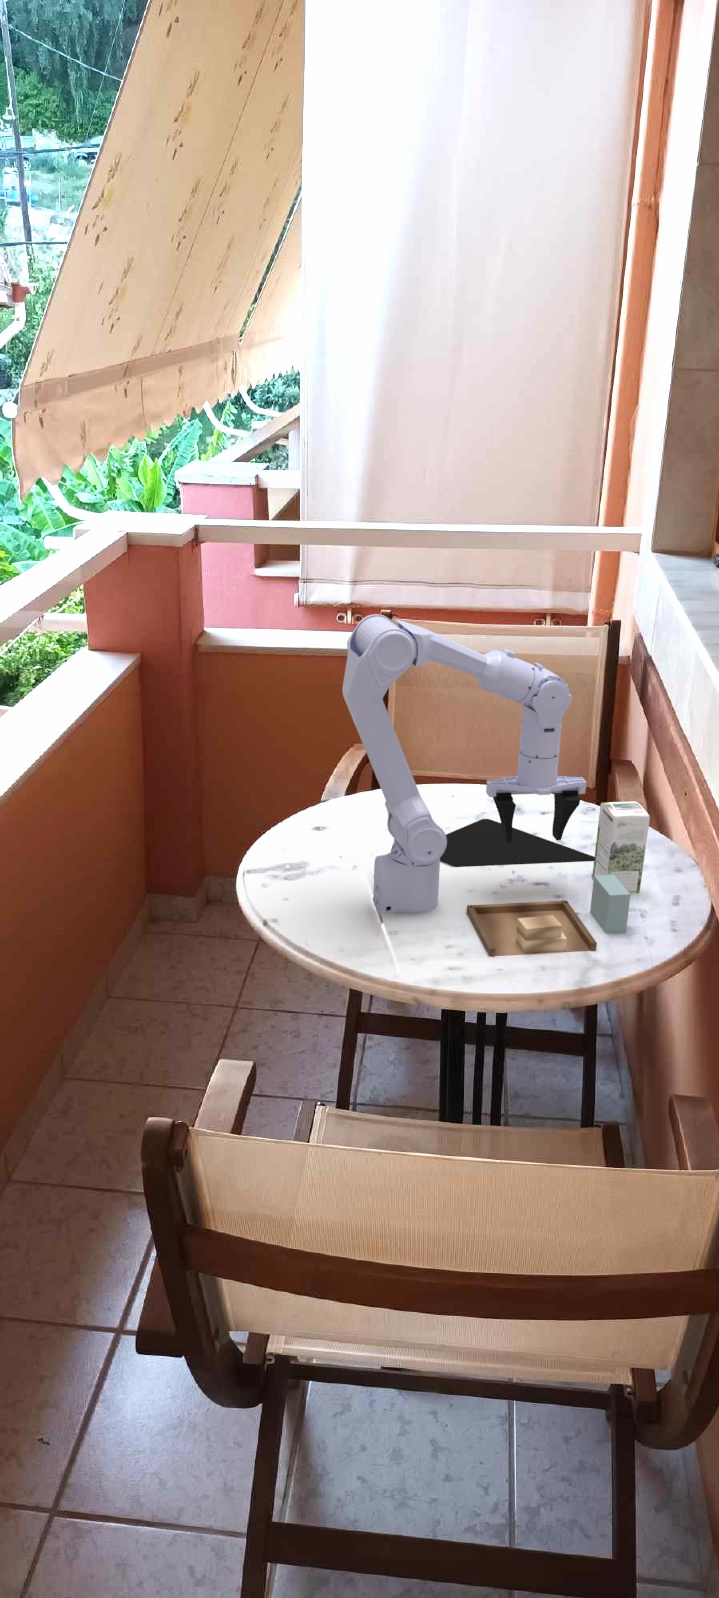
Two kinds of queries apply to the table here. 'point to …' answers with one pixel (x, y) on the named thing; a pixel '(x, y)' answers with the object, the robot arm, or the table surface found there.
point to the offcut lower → (542, 944)
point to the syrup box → (621, 843)
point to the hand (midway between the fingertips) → (531, 838)
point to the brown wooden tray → (501, 919)
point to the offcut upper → (539, 927)
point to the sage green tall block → (610, 903)
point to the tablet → (503, 847)
